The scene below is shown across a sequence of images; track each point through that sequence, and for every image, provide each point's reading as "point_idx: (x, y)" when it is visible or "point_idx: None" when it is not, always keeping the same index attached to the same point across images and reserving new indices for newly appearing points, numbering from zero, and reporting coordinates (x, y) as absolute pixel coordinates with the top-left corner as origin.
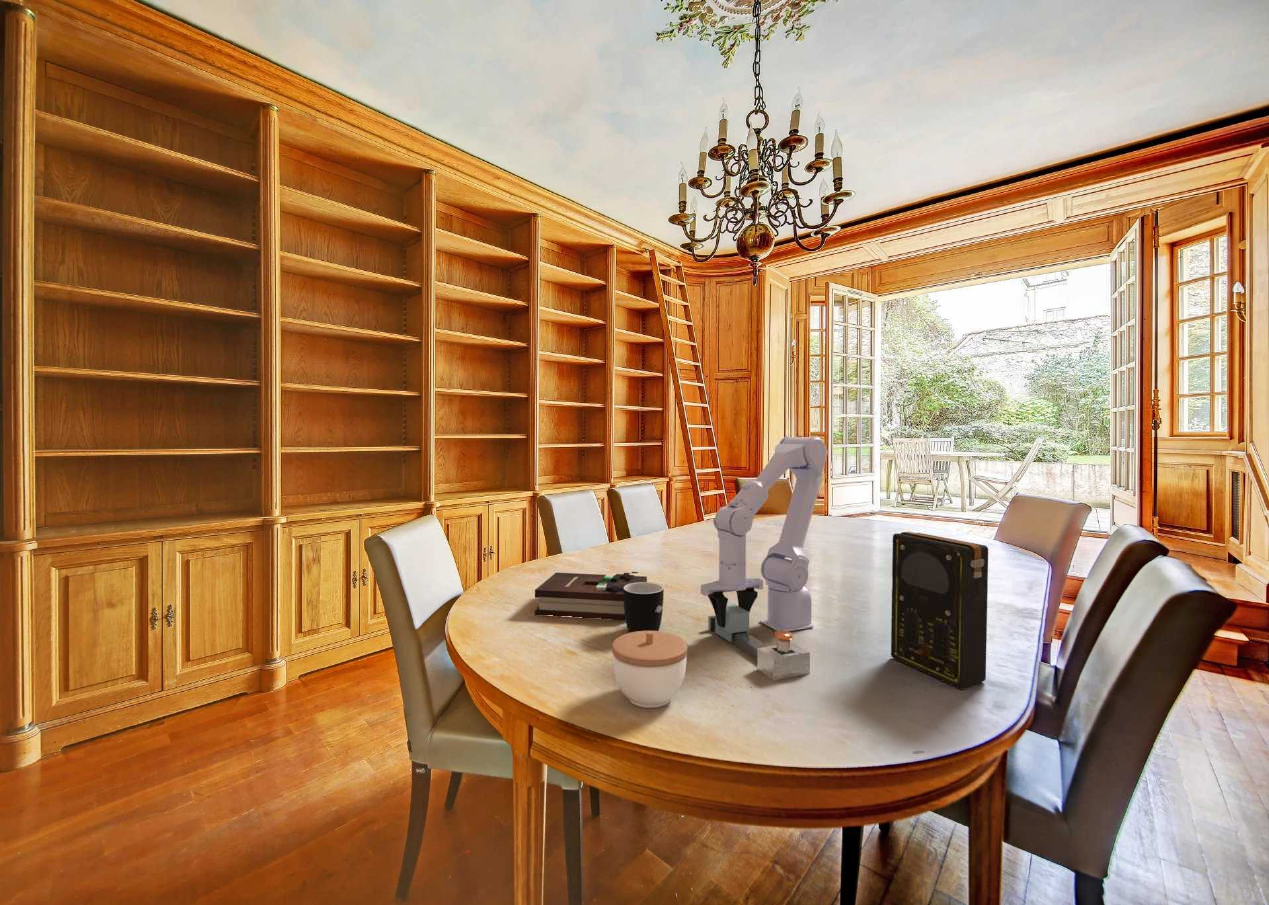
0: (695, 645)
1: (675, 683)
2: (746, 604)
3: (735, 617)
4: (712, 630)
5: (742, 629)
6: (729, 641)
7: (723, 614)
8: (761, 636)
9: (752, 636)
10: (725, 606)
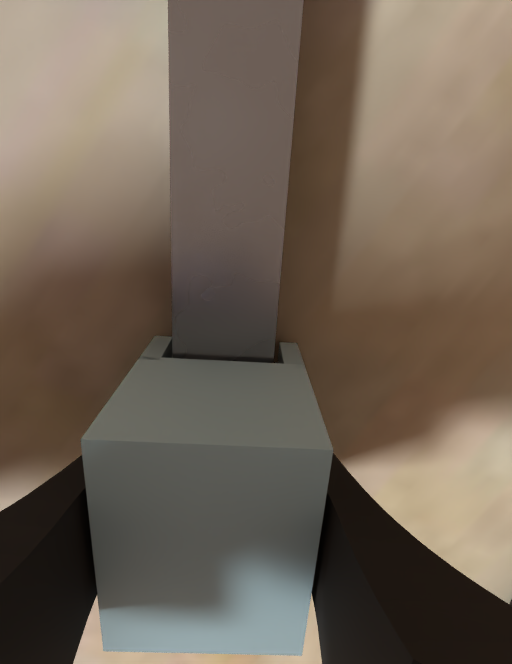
0: (476, 398)
1: None
2: (44, 553)
3: (261, 425)
4: None
5: (196, 365)
6: (296, 347)
7: (353, 499)
8: (46, 358)
9: (171, 267)
10: (374, 562)
